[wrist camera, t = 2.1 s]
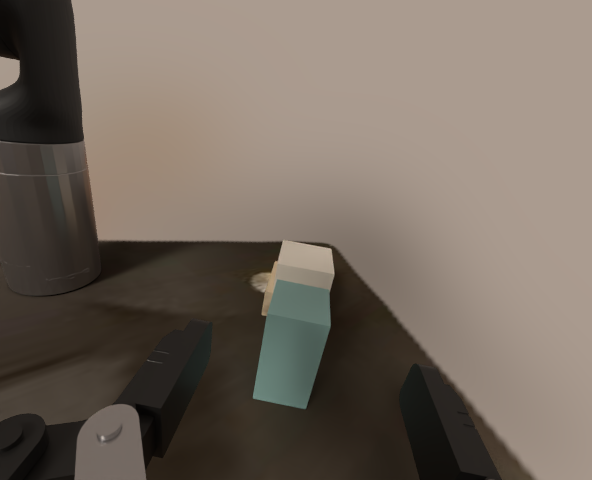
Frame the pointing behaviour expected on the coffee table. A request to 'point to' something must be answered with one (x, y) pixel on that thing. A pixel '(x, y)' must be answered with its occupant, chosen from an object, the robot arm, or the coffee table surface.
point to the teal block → (292, 343)
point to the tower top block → (305, 265)
